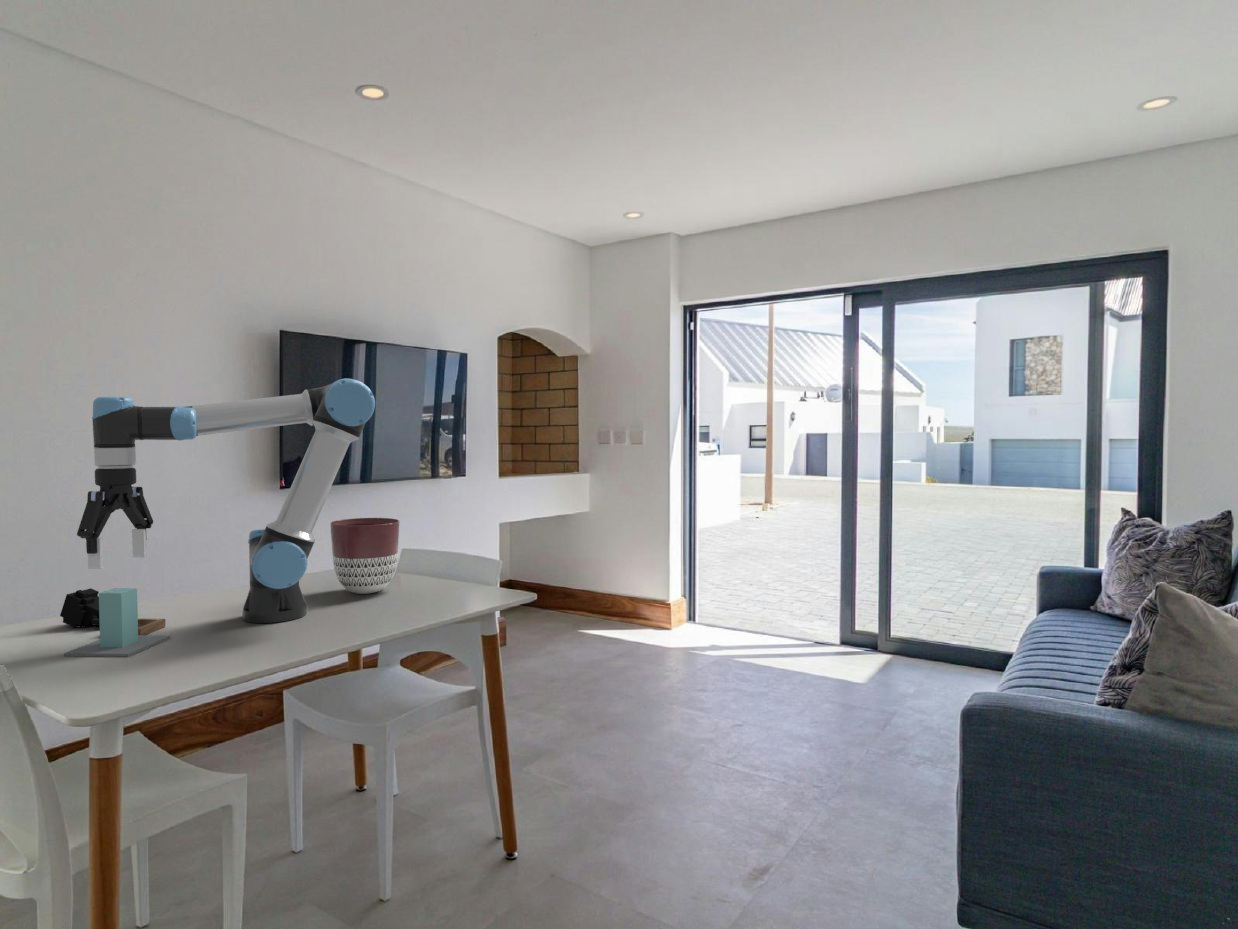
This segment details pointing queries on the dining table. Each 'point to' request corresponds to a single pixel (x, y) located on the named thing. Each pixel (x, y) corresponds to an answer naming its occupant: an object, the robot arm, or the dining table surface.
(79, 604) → the toy
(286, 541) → the robot arm
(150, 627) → the wooden square frame
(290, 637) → the dining table surface
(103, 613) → the block
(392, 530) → the planter
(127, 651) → the pad
